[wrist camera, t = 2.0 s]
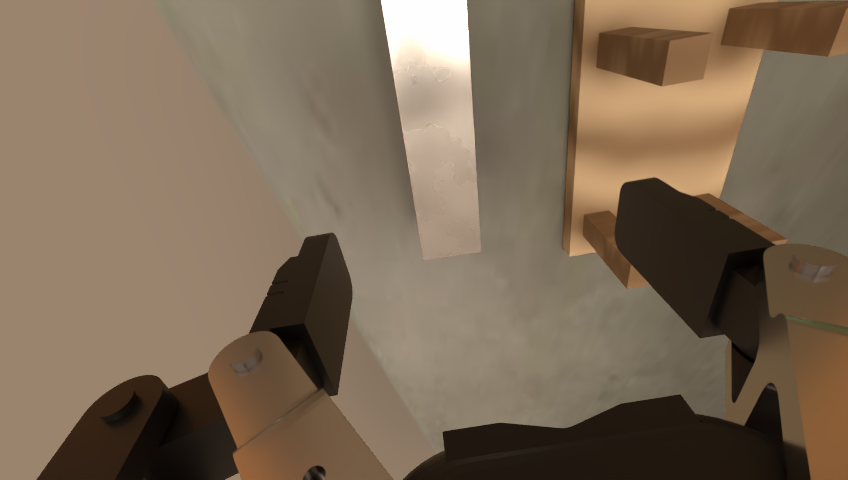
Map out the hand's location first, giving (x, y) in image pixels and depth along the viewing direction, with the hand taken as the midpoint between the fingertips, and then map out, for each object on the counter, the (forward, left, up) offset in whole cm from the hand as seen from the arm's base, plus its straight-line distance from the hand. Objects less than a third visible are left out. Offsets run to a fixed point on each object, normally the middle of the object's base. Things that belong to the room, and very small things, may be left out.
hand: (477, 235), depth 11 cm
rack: (+5, +16, -18) cm, 25 cm away
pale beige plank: (0, 0, -18) cm, 18 cm away
